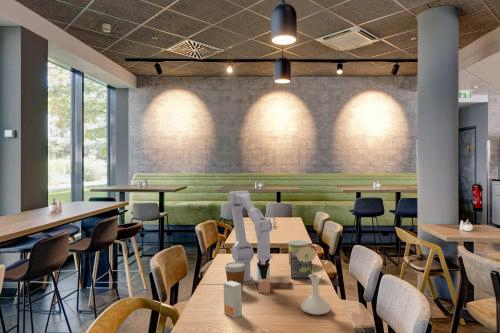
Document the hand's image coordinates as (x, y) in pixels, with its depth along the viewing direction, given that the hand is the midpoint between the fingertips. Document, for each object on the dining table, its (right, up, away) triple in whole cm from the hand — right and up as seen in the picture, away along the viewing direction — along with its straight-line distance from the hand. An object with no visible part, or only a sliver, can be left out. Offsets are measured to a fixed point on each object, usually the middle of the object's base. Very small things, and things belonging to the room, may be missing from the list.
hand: (264, 276), depth 163 cm
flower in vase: (+18, -7, -23) cm, 30 cm away
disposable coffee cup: (-13, -7, 0) cm, 15 cm away
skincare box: (-13, -7, -25) cm, 29 cm away
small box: (+20, -6, +19) cm, 28 cm away
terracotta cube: (0, -7, 0) cm, 7 cm away
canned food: (+21, -6, +43) cm, 48 cm away
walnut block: (+8, -7, +8) cm, 13 cm away
